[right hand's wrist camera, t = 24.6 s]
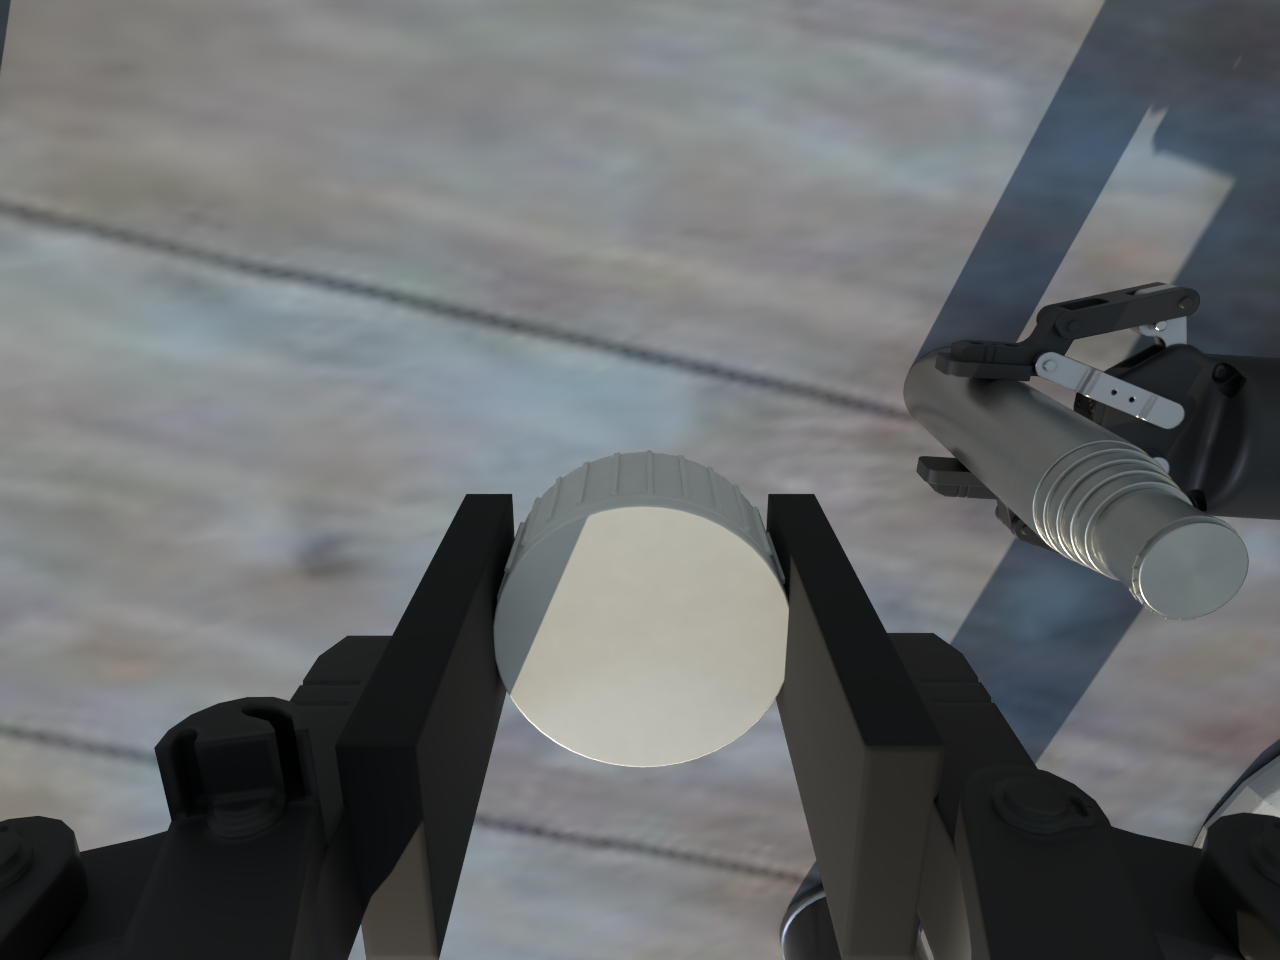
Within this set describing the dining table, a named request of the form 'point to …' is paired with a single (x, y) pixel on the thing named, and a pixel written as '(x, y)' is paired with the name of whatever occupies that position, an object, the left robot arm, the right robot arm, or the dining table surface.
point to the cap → (642, 612)
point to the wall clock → (1251, 797)
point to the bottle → (1082, 489)
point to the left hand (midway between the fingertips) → (932, 418)
